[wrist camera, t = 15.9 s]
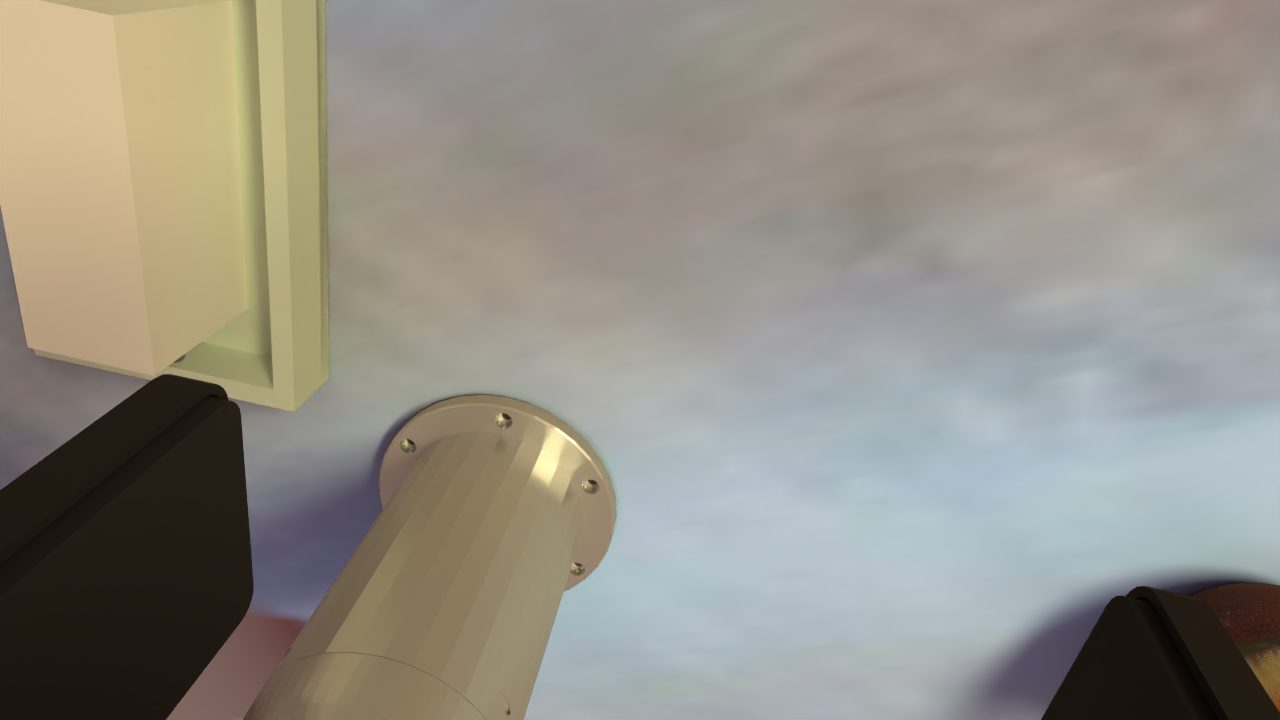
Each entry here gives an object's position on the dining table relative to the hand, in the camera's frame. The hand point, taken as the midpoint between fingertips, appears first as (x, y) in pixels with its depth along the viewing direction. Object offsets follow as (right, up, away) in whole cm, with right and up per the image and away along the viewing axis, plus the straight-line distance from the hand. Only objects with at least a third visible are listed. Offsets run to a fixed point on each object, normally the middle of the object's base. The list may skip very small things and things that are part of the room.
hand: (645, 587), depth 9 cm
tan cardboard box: (-21, +12, +29) cm, 37 cm away
